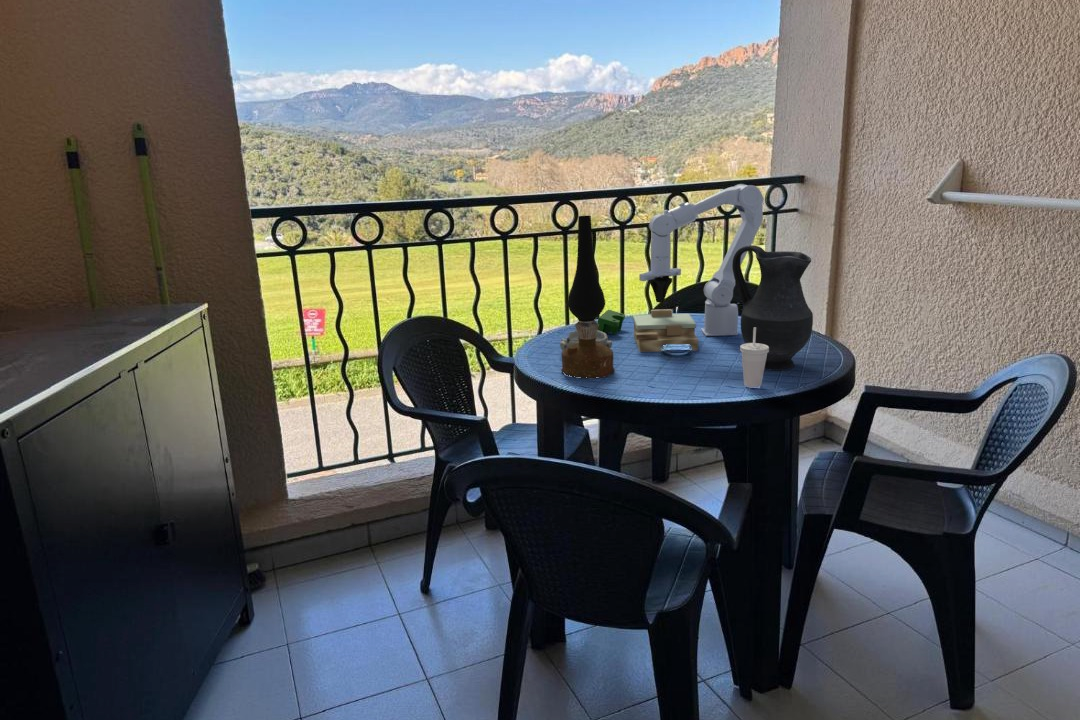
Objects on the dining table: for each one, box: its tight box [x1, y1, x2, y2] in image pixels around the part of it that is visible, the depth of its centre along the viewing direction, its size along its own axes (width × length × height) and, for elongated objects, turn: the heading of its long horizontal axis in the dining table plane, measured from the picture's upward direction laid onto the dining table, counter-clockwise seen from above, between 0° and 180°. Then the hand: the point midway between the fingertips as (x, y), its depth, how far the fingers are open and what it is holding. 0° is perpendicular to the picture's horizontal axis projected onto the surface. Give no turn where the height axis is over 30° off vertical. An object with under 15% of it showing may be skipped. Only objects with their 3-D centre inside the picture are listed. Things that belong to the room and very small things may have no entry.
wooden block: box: [634, 332, 658, 341], centre depth 189 cm, size 6×2×1 cm, turn 88°
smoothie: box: [739, 327, 769, 387], centre depth 156 cm, size 6×6×14 cm
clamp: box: [597, 309, 626, 335], centre depth 210 cm, size 12×6×9 cm, turn 153°
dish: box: [559, 329, 613, 353], centre depth 190 cm, size 14×14×5 cm
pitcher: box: [732, 244, 814, 371], centre depth 169 cm, size 17×21×30 cm
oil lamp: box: [560, 215, 615, 378], centre depth 170 cm, size 14×15×40 cm
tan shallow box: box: [633, 322, 699, 353], centre depth 195 cm, size 16×17×5 cm
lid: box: [632, 308, 697, 336], centre depth 196 cm, size 17×14×5 cm
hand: (660, 302), depth 201 cm, fingers closed
